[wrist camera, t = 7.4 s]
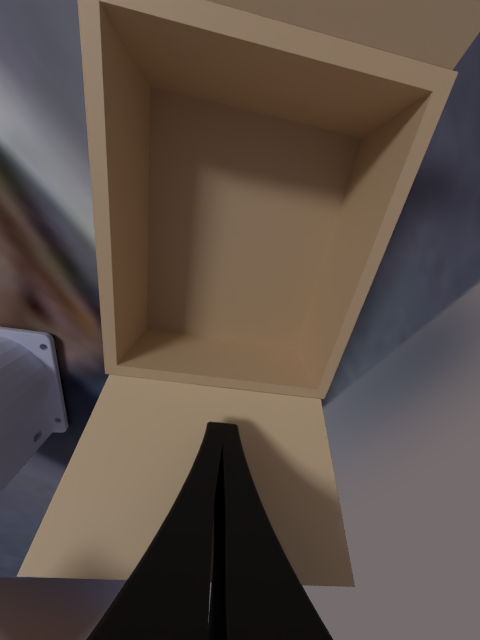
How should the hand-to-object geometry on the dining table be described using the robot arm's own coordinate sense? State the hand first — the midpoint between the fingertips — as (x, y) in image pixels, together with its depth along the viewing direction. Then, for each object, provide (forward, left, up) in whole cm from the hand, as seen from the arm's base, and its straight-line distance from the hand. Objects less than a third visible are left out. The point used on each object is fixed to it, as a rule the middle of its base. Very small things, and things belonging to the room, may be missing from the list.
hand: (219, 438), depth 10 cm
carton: (+8, 0, -8) cm, 11 cm away
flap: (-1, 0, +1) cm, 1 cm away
